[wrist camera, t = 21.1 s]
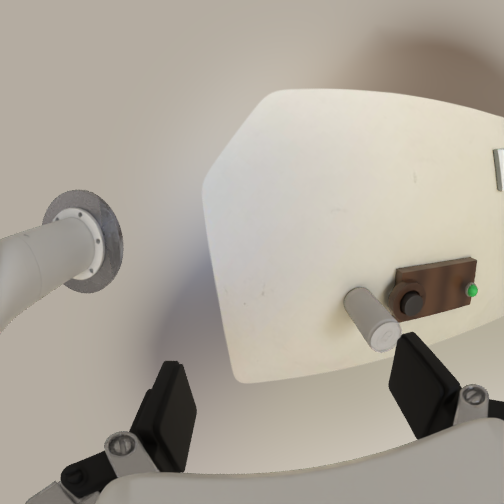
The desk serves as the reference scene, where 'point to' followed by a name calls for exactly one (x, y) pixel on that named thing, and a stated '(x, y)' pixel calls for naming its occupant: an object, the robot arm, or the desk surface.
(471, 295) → the green lamp
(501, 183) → the hard drive
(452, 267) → the switch box
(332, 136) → the desk surface
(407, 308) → the button
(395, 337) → the beverage can
